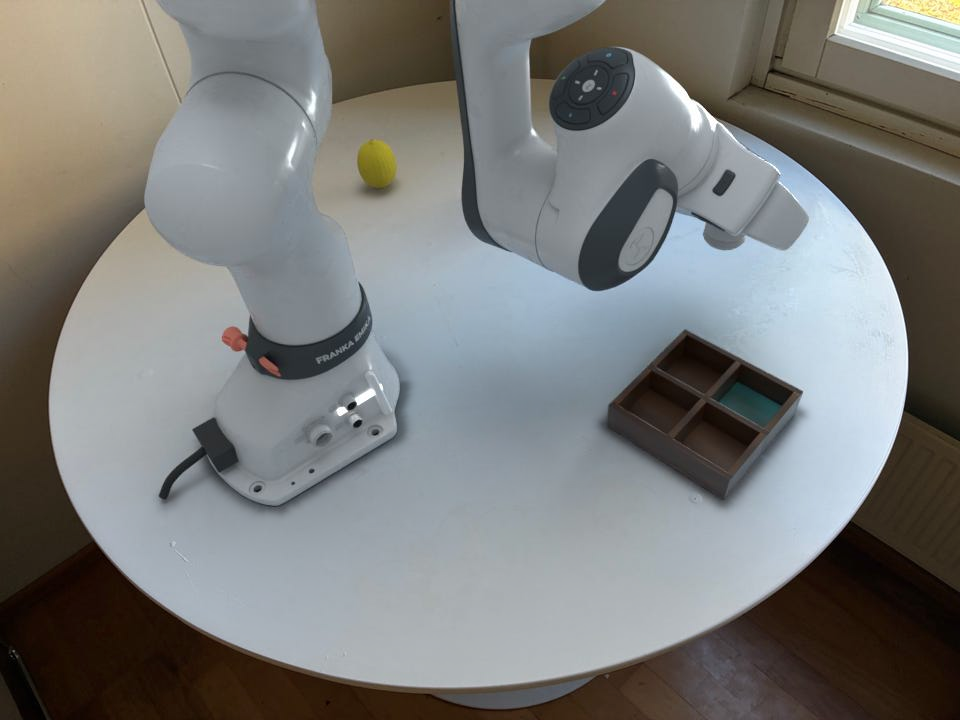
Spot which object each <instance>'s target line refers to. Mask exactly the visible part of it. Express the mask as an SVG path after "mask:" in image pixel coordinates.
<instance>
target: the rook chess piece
mask: <svg viewBox="0 0 960 720" xmlns="http://www.w3.org/2000/svg"><path fill="white" fill-rule="evenodd" d="M702 236H703V239H704V241H705V242H706V244H708V245H709V247H711V248H713V249H716V250H719V251H733V250H735V249H738V248H739V247H740V246H742V245H743V244H744V243H745V242H746V238H747V236H746V235H744V234H742V233H740V234H739V235H738V236H732V235H731V234H729V233H727V232H726V231H725V232H724V231H722V230H720V229H718V228H716V227H714V226H712V225H710V224H708V223H706V222H705V225H704V228H703V232H702Z"/></svg>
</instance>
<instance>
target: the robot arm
mask: <svg viewBox="0 0 960 720" xmlns="http://www.w3.org/2000/svg"><path fill="white" fill-rule="evenodd" d="M154 1H155V2H156V3H157V5H158V6H159V7H160V9H161V10H162V11H163V12H164V13H165V14H166V15H167V16H169V17H170V18H171V19H172V20H174V21H176V22H177V23H178V26H179V28H180V30H181V33H182V35H183V38H184V40H185V42H186V45H187V48H188V52H189V56H190V77H189V82H188V87H187V91H186V94H185V95H184V98H183V99H182V101H181V103H180V104H179V106H178V108H177V109H176V111H175V113H174V115H173V116H172V117H171V119H170V121H169V122H168V124H167V126H166V127H165V129H164V130H163V132H162V134H161V135H160V137H159V139H158V140H157V142H156V145H155V147H154V151H153V154H152V159H151V162H150V166H149V169H148V175H147V180H146V183H145V184H146V185H145V190H144V196H143V201H144V208H145V212H146V215H147V217H148V219H149V221H150V224H151V226H152V227H153V228H154V230H155V231H156V232H157V233H158V235H159V236H160V237H161V238H162V239H163V240H164V241H165V242H166V243H167V244H168V245H169V246H171V248H173V249H174V250H176V251H177V252H178V253H179V254H182V255H184V256H185V257H187V258H189V259H191V260H193V261H195V262H198V263H201V264H204V265H209V266H215V267H224V268H225V267H226V269H227V270H228V272H229V274H230V275H231V277H232V278H233V280H234V282H235V284H236V287H237V289H238V292H239V294H240V296H241V298H242V300H243V302H244V305H245V307H246V309H247V312H248V314H249V319H248V330H247V334H246V333H243V332H242V331H241V329H240V328H238V327H237V326H228V327H227V328H226V329H225V330H223V332H222V336H221V339H222V340H221V342H222V343H223V344H225V345H226V346H227V347H230V349H231V350H232V351H234V352H241V351H243V352H244V354H243V355H242V357H241V358H240V360H239V361H238V363H237V365H236V366H235V368H234V369H233V371H232V373H231V374H230V375H229V377H228V378H227V380H226V381H225V383H224V385H223V386H222V387H221V389H220V390H219V392H218V394H217V395H216V397H215V400H214V406H213V411H214V416H212V417H211V418H210V419H208V420H206V421H205V422H203V423H201V424H199V425H197V426H195V427H194V428H192V429H191V430H192V432H193V434H194V436H195V437H196V440H197V441H198V442H199V444H200V446H201V447H200V448H198V449H197V450H196V451H195V452H193V453H192V454H191V455H189V456H188V457H186V458H185V459H183V461H181V462H180V463H179V464H178V465H176V466H175V467H174V468H173V469H172V470H171V471H170V473H168V475H167V476H166V477H165V480H164V481H163V483H162V485H161V487H160V491H159V494H158V497H159V499H161V500H167V499H168V497H169V495H170V492H171V490H172V487H173V485H174V484H175V483H176V481H177V480H178V479H179V478H180V477H181V476H182V475H183V474H184V473H185V472H186V471H188V470H189V469H190V468H191V467H192V466H193V465H195V464H196V463H198V462H199V461H200V460H201V459H203V458H204V457H205V456H207V459H208V461H209V463H210V464H211V466H212V467H213V469H214V471H215V472H216V473H217V475H218V476H219V477H220V478H221V479H222V480H223V481H224V482H225V484H227V485H229V486H230V487H231V488H232V489H233V490H234V491H235V492H238V493H239V494H240V495H241V496H243V497H244V498H246V499H248V500H250V501H253V502H255V503H257V504H261V505H265V506H273V507H277V506H281V505H283V504H285V503H287V502H289V501H290V500H292V499H294V498H295V497H296V496H299V495H300V494H302V493H303V492H305V491H307V490H308V489H310V488H312V487H313V486H315V485H317V484H318V483H320V482H322V481H323V480H325V479H327V478H328V477H330V476H332V475H334V474H335V473H337V472H338V471H340V470H342V469H343V468H345V467H347V466H348V465H350V464H351V463H353V462H355V461H357V460H358V459H360V458H361V457H363V456H365V455H366V454H368V453H370V452H372V451H374V450H375V449H376V448H378V447H380V446H382V445H383V444H385V443H387V442H388V441H390V440H391V439H393V438H394V437H395V436H396V434H397V431H398V422H397V418H396V407H397V404H398V401H399V397H400V391H401V385H400V378H399V375H398V372H397V370H396V368H395V367H394V365H393V364H392V363H391V362H390V360H389V359H388V358H387V356H386V355H385V353H384V351H383V350H382V348H381V345H380V344H379V341H378V339H377V337H376V335H375V333H374V329H373V315H372V314H373V313H372V311H371V308H370V303H369V299H368V297H367V294H366V291H365V288H364V287H363V285H362V283H361V282H360V281H359V280H358V274H357V272H356V268H355V263H354V259H353V256H352V253H351V250H350V249H351V248H350V246H349V241H348V238H347V235H346V232H345V230H344V229H343V227H342V226H341V225H340V224H339V223H338V221H337V220H335V219H334V218H332V217H331V216H329V215H327V214H325V213H322V212H321V211H320V210H319V208H318V206H317V203H316V198H315V195H314V171H315V169H314V168H315V163H316V160H317V156H318V154H319V151H320V148H321V145H322V142H323V140H324V138H325V135H326V132H327V130H328V126H329V124H330V120H331V117H332V108H333V107H332V106H333V72H332V67H331V64H330V61H329V58H328V55H326V51H325V45H324V41H323V36H322V32H321V27H320V26H321V25H320V22H319V17H318V11H317V5H316V0H154ZM606 1H607V0H449V25H450V38H451V49H452V57H453V58H452V59H453V68H454V76H455V85H456V92H457V93H456V94H457V100H458V110H459V118H460V127H461V134H462V144H463V170H462V180H461V207H462V213H463V218H464V221H465V223H466V225H467V227H468V229H469V231H470V232H471V233H472V235H473V236H474V237H475V238H477V240H479V241H480V242H483V243H484V244H488V245H490V246H493V247H495V248H499V249H501V250H503V251H506V252H509V253H513V254H515V255H517V256H519V257H521V258H523V259H525V260H528V261H529V262H530V263H533V264H535V265H538V266H539V267H541V268H544V269H545V270H547V271H550V272H552V273H555V274H557V275H559V276H560V277H563V278H565V279H567V280H569V281H572V282H574V283H575V284H577V285H580V286H581V287H584V288H586V289H587V290H589V291H592V292H603V291H608V290H611V289H614V288H616V287H618V286H621V285H623V284H625V283H627V282H628V281H630V280H632V279H633V278H634V277H636V276H638V275H639V274H640V273H641V272H642V271H644V270H645V269H646V268H647V267H648V266H650V264H651V263H652V262H653V261H654V259H655V258H656V257H657V255H658V253H659V252H660V250H661V248H662V247H663V244H664V243H665V241H666V240H667V237H668V235H669V231H670V229H671V227H672V224H673V221H674V219H675V214H680V215H682V216H683V215H684V216H688V217H692V218H695V219H697V220H699V221H702V222H703V223H705V224H706V223H708V224H710V225H712V226H714V227H716V228H718V229H720V230H722V231H724V232H725V231H726V232H727V233H729V234H731V235H732V236H738V235H739V234H740V233H742V234H744V235H745V236H746V237H748V238H750V239H753V240H755V241H757V242H760V243H762V244H764V245H766V246H768V247H770V248H773V249H776V250H777V251H781V252H785V251H787V250H789V249H791V247H792V246H793V245H794V244H795V243H796V242H797V241H798V239H799V238H800V236H801V235H802V234H803V232H804V231H805V229H806V228H807V226H808V224H809V220H810V216H809V214H808V213H807V211H806V209H805V208H804V207H803V205H801V203H800V202H799V201H798V199H797V198H796V197H795V196H794V195H793V193H792V192H791V191H790V190H789V189H788V188H787V187H786V186H784V184H782V183H781V182H780V181H779V180H780V178H781V172H780V170H779V169H778V168H777V167H776V166H774V165H773V164H772V163H770V162H769V161H768V160H766V159H765V158H763V157H762V156H760V155H759V154H757V153H755V152H754V151H752V150H751V149H750V148H749V147H747V146H746V145H745V144H743V143H741V142H739V141H738V140H737V138H735V136H734V135H733V134H732V132H730V131H729V130H728V129H727V128H726V127H725V126H724V125H723V124H722V123H720V122H719V121H717V119H715V117H713V116H712V115H711V113H710V112H708V111H707V110H706V108H704V106H703V105H701V104H700V103H699V102H698V101H696V100H694V99H693V98H690V96H689V95H688V92H687V91H686V89H684V88H683V86H682V85H681V84H680V83H679V82H678V81H677V80H676V79H675V78H673V77H672V76H671V75H670V74H669V73H668V72H667V71H666V70H664V69H663V68H662V67H660V66H659V64H656V63H655V62H654V61H653V60H651V59H650V58H648V57H647V56H645V55H643V54H642V53H640V52H637V51H636V50H633V49H630V48H627V47H621V46H604V47H599V48H596V49H592V50H589V51H587V52H586V53H583V54H582V55H579V56H578V57H577V58H575V59H574V60H572V61H571V62H570V63H569V64H568V65H566V67H564V68H563V70H562V71H561V72H560V73H559V75H558V76H557V78H556V79H555V81H554V82H553V84H552V87H551V90H550V93H549V96H548V114H549V117H550V120H551V123H552V126H553V129H554V133H555V139H556V148H554V147H553V146H551V145H550V144H548V143H547V142H546V141H545V140H544V139H543V138H542V137H541V136H540V135H539V134H538V133H537V131H536V129H535V128H534V126H533V122H532V97H531V95H532V93H531V66H530V65H531V64H530V48H531V45H532V44H531V43H532V40H533V39H536V38H540V37H543V36H546V35H550V34H552V33H555V32H557V31H559V30H561V29H564V28H566V27H568V26H570V25H572V24H574V23H576V22H578V21H579V20H582V19H583V18H584V17H587V16H588V15H589V14H591V13H592V12H594V11H595V10H597V9H598V8H599V7H601V5H603V4H605V2H606ZM375 434H376V435H375ZM258 490H260V491H258ZM257 491H258V492H257Z"/></svg>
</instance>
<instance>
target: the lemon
mask: <svg viewBox="0 0 960 720" xmlns="http://www.w3.org/2000/svg"><path fill="white" fill-rule="evenodd" d="M356 163H357V164H356V165H357V169H358V174H359V175H360V177H361V179H362V180H363V182H365V183H366V184H367V185H368V186H370V187H373V188H377V189H383V188H385V187H387V186H388V185H390V184H391V183H392V182H393V180H394V179H395V177H396V173H397V160H396V157H395V155H394V152H393V150H392V148H391V147H390V146H389V145H388V144H387V143H386V142H385V141H383V140H380V139H369V140H367V141H365V142H364V143H363V144H362V145H361V146H360V148H359V150H358V151H357V158H356Z"/></svg>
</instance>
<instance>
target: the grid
mask: <svg viewBox="0 0 960 720" xmlns="http://www.w3.org/2000/svg"><path fill="white" fill-rule="evenodd" d="M803 394H804V390H802V389H800V388H798V387H796V386H794V385H793V384H790V383H789V382H787V381H785V380H783V379H781V378H779V377H777V376H775V375H774V374H772V373H770V372H768V371H766V370H764V369H763V368H760V367H759V366H756V365H755V364H753V363H751V362H749V361H747V360H745V359H743V358H741V357H740V356H738V355H735V354H734V353H731V352H730V351H728V350H727V349H724V348H722V347H721V346H719V345H717V344H714V343H713V342H711V341H709V340H707V339H705V338H704V337H702V336H700V335H697V334H696V333H694V332H692V331H690V330H688V329H686V328H685V329H684V330H682V331H681V332H680V334H678V335H677V336H676V337H675V339H673V340H672V341H671V342H670V343H669V344H668V345H667V346H666V347H665V348H664V349H663V350H662V351H661V352H660V353H659V354H658V355H657V356H656V357H655V358H654V359H653V360H652V361H651V362H650V364H648V365H647V366H646V367H645V368H644V369H643V370H642V371H641V372H640V373H639V374H638V375H637V376H636V377H635V378H634V379H633V380H632V381H631V382H630V383H629V384H628V385H627V386H626V387H625V388H624V389H623V390H622V391H621V392H620V393H619V394H618V395H617V396H616V397H615V398H614V399H613V400H612V401H611V402H610V403H608V406H607V417H606V418H607V419H606V426H607V428H609V429H611V430H613V431H614V432H616V433H617V434H619V435H620V436H622V437H623V438H625V439H626V440H628V441H630V442H631V443H633V444H635V445H636V446H637V447H639V448H641V449H642V450H644V451H646V452H647V453H649V454H650V455H652V456H653V457H655V458H657V460H659V461H661V462H663V463H665V465H668V466H669V467H670V468H672V469H674V470H675V471H677V472H678V473H680V474H681V475H683V476H684V477H686V478H688V479H689V480H691V482H692V481H693V482H694V483H695V484H697V485H698V486H700V487H702V488H704V489H705V490H707V491H708V492H710V493H711V494H713V495H715V496H716V497H718V498H719V499H721V500H722V501H725V499H726V498H727V497H728V496H729V495H730V493H732V491H733V489H734V488H735V487H736V486H737V485H738V484H739V482H741V480H742V478H744V476H746V474H747V473H748V472H749V470H750V469H751V468H752V467H753V466H754V464H755V463H756V462H757V460H758V459H759V458H760V457H761V455H762V454H763V453H765V451H766V449H767V448H768V447H769V446H770V444H771V443H772V442H773V441H774V440H775V439H776V437H777V436H778V435H779V434H780V432H781V431H782V430H783V429H784V427H786V425H787V424H788V422H790V420H791V419H792V418H793V416H794V415H795V414H796V413H797V410H798V407H799V404H800V402H801V399H802V396H803Z"/></svg>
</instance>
